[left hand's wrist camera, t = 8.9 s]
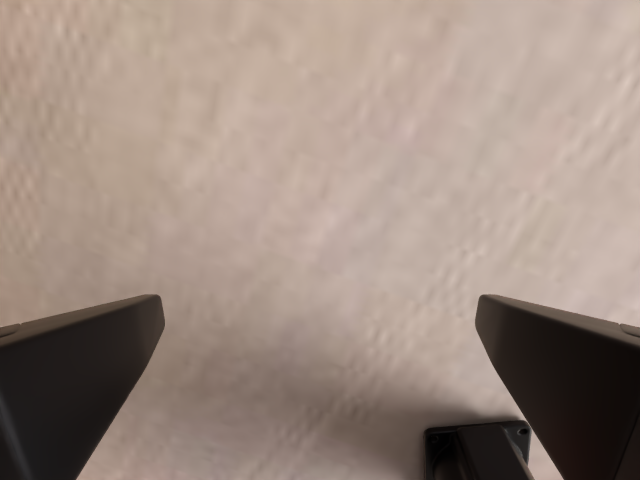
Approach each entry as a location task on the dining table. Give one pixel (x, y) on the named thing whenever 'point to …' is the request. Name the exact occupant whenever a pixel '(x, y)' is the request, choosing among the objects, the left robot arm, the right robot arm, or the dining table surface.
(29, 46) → the dining table surface
